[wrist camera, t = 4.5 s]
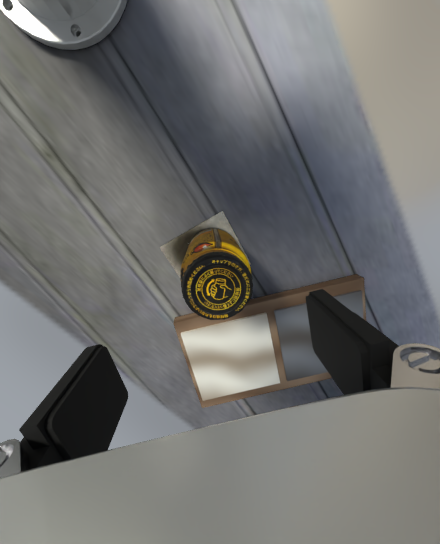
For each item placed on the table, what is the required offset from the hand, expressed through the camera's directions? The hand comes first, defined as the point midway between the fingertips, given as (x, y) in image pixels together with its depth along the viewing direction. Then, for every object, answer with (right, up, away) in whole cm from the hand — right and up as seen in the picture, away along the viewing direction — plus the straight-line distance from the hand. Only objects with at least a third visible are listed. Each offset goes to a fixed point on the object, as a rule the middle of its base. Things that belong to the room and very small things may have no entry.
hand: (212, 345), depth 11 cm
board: (+8, -6, +21) cm, 24 cm away
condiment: (-1, +5, +18) cm, 19 cm away
